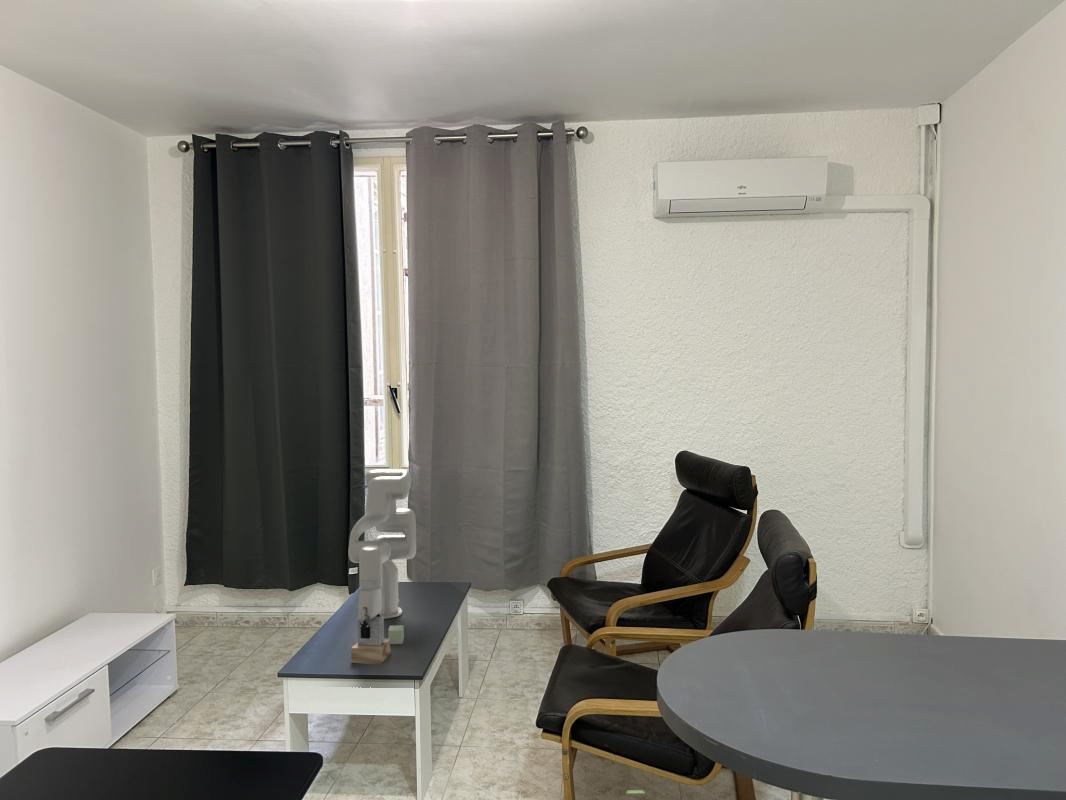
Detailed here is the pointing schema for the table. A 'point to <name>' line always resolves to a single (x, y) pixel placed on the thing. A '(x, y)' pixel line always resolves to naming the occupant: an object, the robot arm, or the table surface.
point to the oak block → (370, 653)
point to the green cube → (396, 634)
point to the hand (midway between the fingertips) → (371, 632)
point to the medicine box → (373, 632)
